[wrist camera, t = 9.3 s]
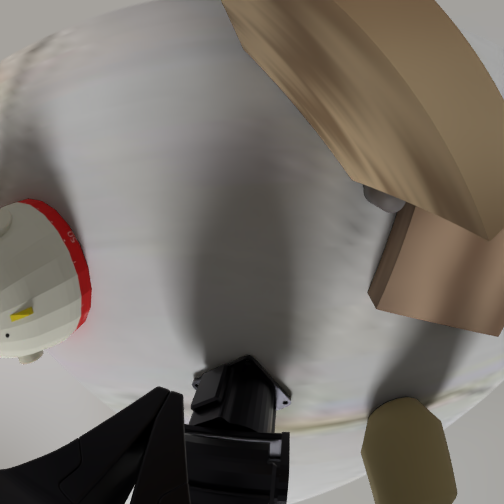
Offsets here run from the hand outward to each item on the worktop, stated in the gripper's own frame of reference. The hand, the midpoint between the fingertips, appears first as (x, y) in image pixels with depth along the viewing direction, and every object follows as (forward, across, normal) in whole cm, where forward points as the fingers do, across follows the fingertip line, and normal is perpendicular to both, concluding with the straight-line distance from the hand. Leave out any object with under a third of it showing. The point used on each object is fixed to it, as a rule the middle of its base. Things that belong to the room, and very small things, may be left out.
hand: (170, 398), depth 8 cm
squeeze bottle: (+13, -19, +12) cm, 26 cm away
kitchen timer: (+13, +19, +7) cm, 24 cm away
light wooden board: (+13, -3, -11) cm, 17 cm away
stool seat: (+13, -16, -7) cm, 22 cm away
